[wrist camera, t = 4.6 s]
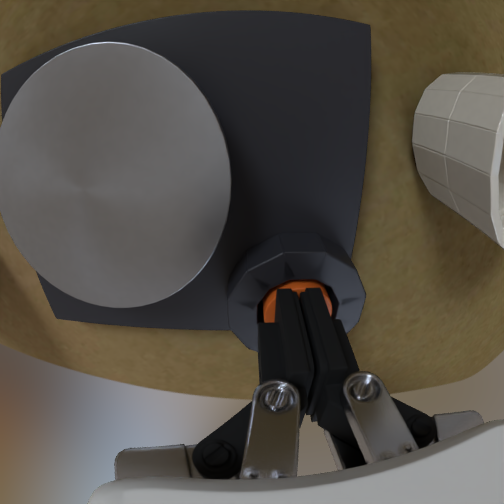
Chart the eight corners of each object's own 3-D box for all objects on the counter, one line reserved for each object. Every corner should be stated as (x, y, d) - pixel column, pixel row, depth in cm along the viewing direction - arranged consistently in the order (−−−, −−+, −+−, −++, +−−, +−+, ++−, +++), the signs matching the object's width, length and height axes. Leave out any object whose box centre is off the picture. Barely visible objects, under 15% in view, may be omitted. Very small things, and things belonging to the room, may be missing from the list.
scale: (365, 33, 8) (398, 18, 6) (334, 314, 15) (348, 353, 13) (18, 73, 8) (-22, 76, 6) (67, 308, 15) (47, 341, 13)
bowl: (502, 95, 9) (577, 114, 4) (487, 207, 12) (550, 255, 7) (409, 56, 9) (497, 47, 4) (397, 197, 12) (468, 257, 7)
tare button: (328, 265, 12) (338, 287, 11) (319, 315, 13) (326, 338, 12) (262, 266, 12) (265, 289, 11) (261, 317, 13) (263, 341, 12)
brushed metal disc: (231, 21, 6) (230, 18, 6) (235, 305, 11) (235, 311, 11) (-10, 89, 6) (-16, 90, 6) (35, 295, 11) (31, 300, 11)
